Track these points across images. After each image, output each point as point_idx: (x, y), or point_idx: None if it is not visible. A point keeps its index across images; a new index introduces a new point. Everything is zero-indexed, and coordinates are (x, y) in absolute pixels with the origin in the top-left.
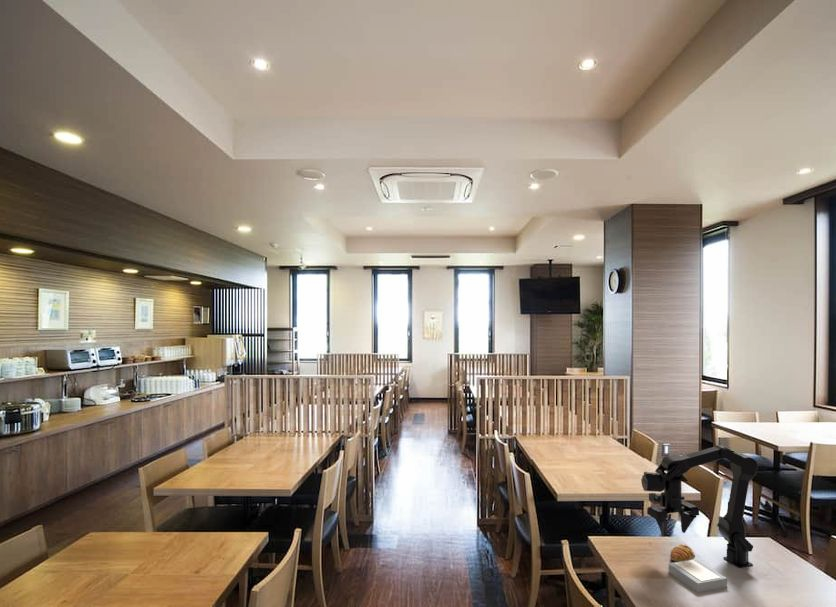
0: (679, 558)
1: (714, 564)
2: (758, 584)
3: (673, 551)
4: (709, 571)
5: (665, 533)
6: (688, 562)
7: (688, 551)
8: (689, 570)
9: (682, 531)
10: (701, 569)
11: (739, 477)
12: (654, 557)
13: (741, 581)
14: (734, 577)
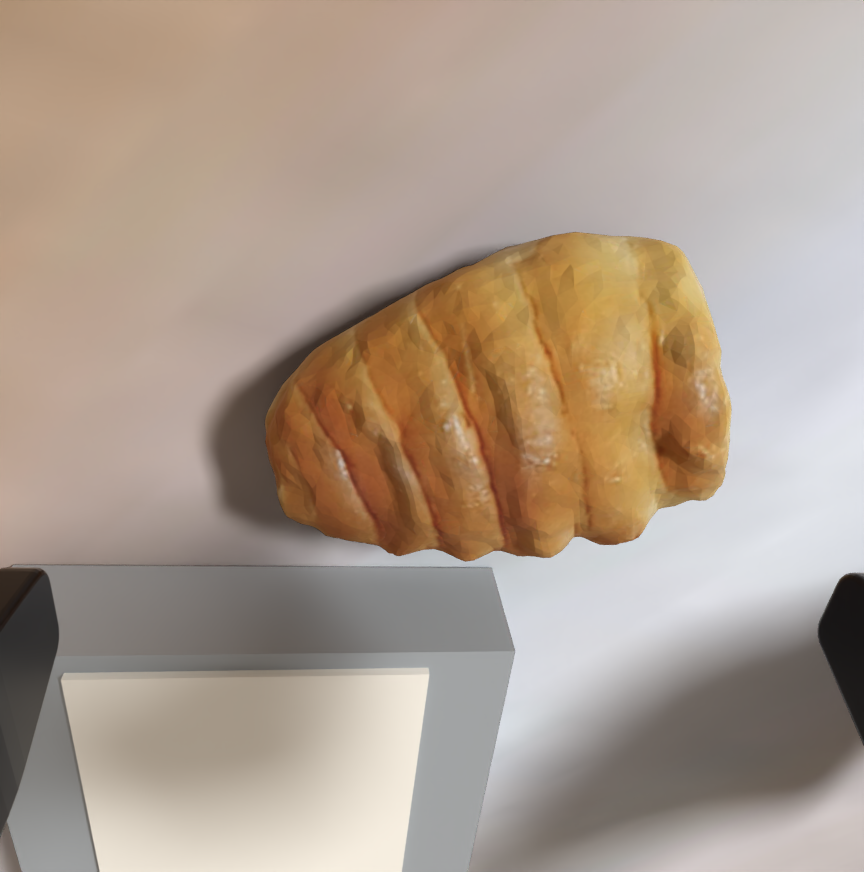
0: (328, 532)
1: (773, 569)
2: (748, 840)
3: (364, 418)
4: (385, 859)
5: (22, 753)
6: (301, 708)
7: (588, 531)
8: (144, 823)
9: (846, 602)
10: (325, 828)
11: None
12: (68, 187)
13: (668, 800)
14: (682, 756)
